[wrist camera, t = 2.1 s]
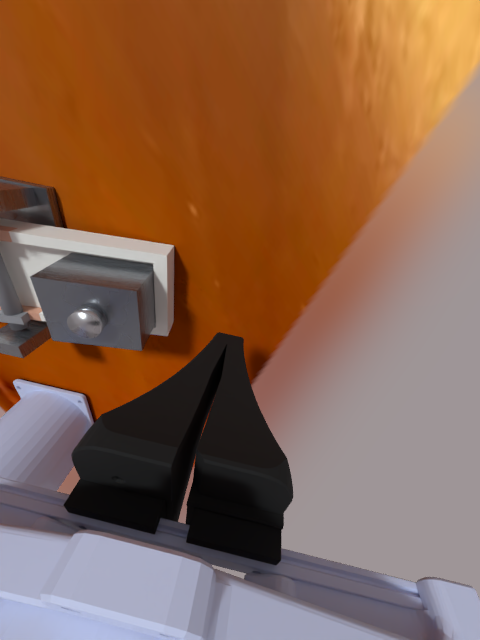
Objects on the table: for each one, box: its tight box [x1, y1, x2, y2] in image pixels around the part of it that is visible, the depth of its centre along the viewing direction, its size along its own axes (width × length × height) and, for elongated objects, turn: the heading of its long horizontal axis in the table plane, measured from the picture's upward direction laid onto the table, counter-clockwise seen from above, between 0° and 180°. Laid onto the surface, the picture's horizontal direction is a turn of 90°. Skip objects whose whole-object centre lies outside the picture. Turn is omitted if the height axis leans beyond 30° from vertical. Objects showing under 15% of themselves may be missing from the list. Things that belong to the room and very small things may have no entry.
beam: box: [0, 218, 174, 336], centre depth 15 cm, size 7×20×2 cm, turn 81°
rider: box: [30, 253, 156, 351], centre depth 14 cm, size 4×5×4 cm
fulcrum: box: [0, 177, 64, 358], centre depth 15 cm, size 10×4×5 cm, turn 171°
